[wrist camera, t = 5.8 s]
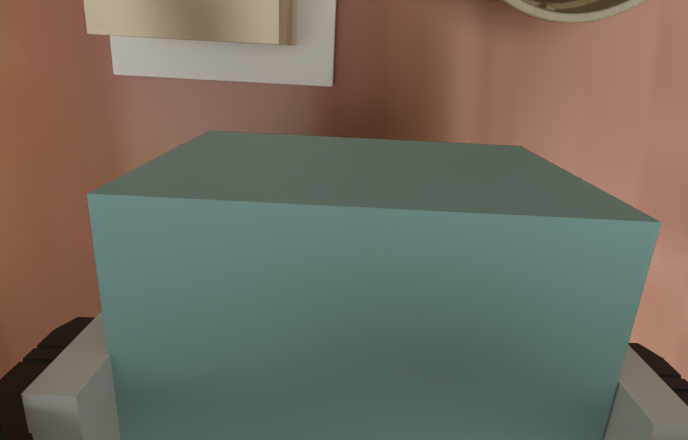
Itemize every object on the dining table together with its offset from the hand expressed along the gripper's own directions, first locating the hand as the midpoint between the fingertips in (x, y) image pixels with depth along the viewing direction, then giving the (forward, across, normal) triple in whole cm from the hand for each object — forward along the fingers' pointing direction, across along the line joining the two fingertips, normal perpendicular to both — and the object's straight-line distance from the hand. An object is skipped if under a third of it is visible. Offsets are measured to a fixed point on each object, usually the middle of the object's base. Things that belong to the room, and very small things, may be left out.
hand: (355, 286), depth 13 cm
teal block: (0, 0, 0) cm, 0 cm away
